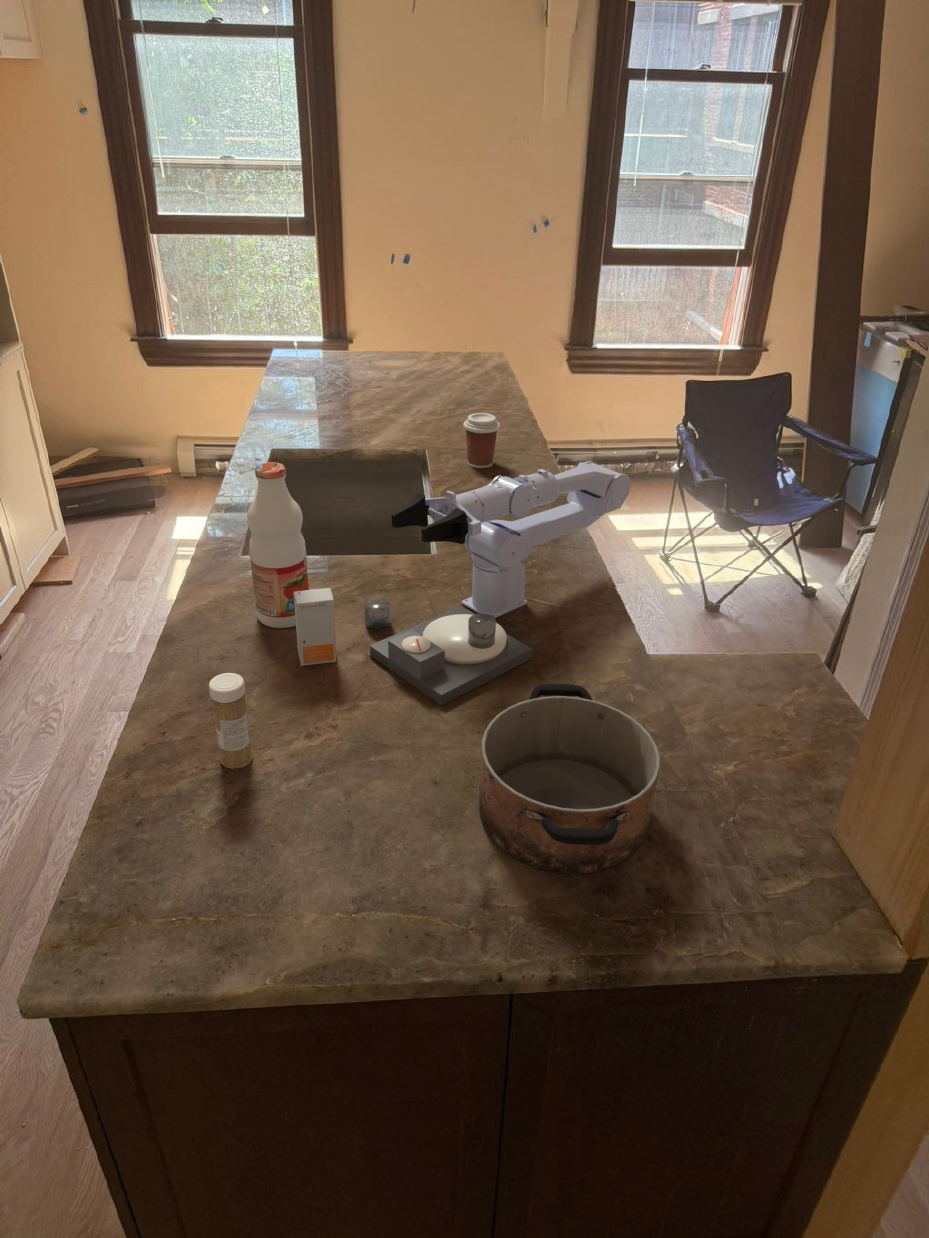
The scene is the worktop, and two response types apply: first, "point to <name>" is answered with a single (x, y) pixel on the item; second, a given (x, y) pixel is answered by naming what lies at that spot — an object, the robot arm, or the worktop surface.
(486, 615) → the cylinder
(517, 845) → the cooking pot
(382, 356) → the worktop surface
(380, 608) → the cylinder
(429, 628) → the kitchen scale
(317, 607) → the skincare box
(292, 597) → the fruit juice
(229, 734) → the sprinkles bottle
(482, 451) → the coffee cup
